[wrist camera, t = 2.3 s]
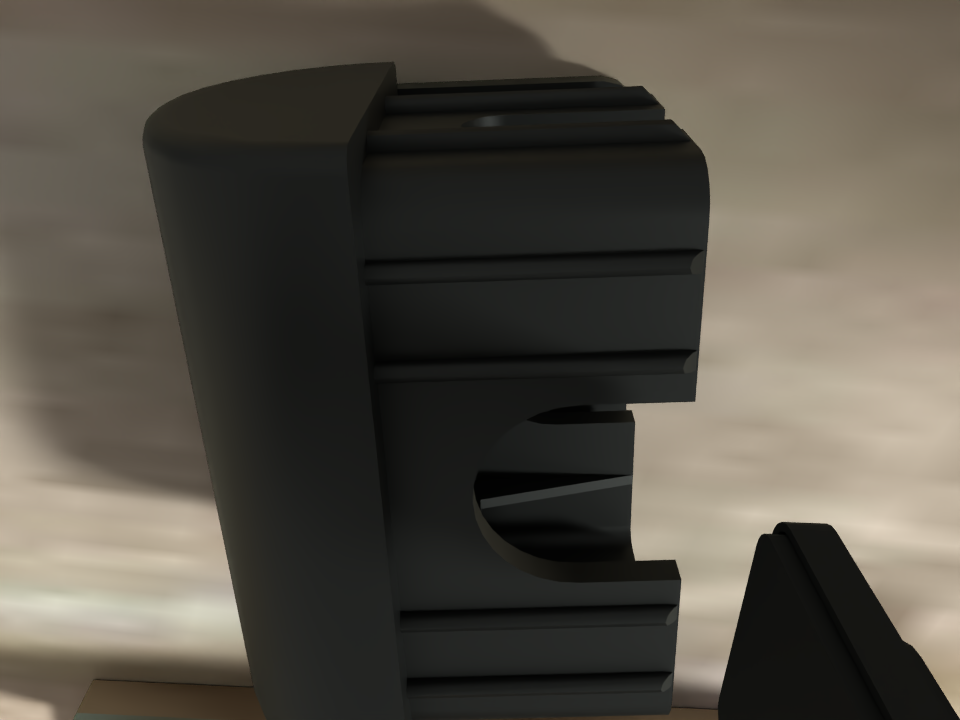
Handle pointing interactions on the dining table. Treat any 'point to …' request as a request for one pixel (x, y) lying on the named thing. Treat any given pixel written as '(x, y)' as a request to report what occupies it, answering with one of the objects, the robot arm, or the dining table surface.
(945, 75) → the dining table surface
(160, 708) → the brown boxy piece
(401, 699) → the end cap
